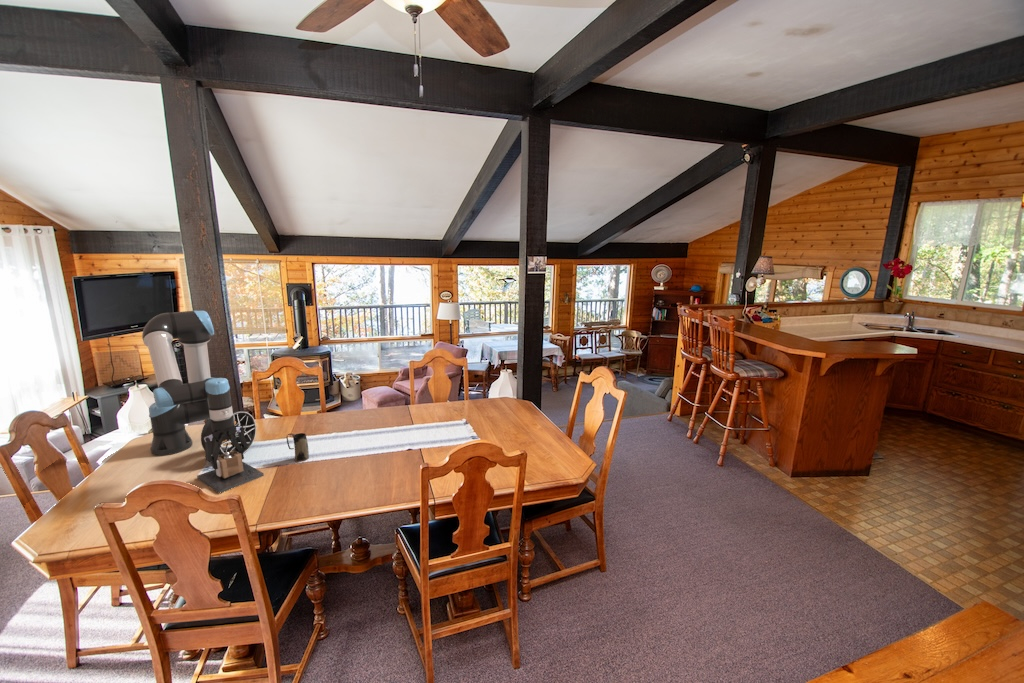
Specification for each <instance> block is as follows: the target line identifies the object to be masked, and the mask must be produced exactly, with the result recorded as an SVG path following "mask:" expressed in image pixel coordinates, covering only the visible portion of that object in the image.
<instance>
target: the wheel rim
mask: <svg viewBox="0 0 1024 683" xmlns="http://www.w3.org/2000/svg"><path fill="white" fill-rule="evenodd" d="M232 416H233V417H234V422H235V423H234V424H235V427H239V426H242V427H244V436H245V439H246V443H247V446H248V449H246V450H244V453H243V455H244V454H245V453H246V452H248V450H250V448H251V447H252V445H253V443H254V442H255V438H256V435H257V424H256V423H257V422H256V421H255V418H254V417H253V415H252V414H250V412H247V411H234V412H233V415H232ZM211 420H212V419H210V418H209V419H206V420H205V423H204V424H203V427H202V430H201V433H200V443H201V446H202V448H203V450H204V451H205V441H204V439H203V438H204V437H205V436H206V437H207V436H209V435H211V433H212V427H211ZM234 437H235V438H236V440H237V442H238V443H239V445H240V446H241V442H240V439H239V435H238V432H237V431H235V433H234ZM229 444H230V445H231V446H230V447H229ZM214 445H215V438H214V437H213V438H212V441H211V448H212V453H213V449H214ZM222 445H225V449H223V448H222ZM241 447H242V446H241ZM231 451H235V452H238V451H237V449H236V448H235V446H234V445H233V443H232V442H231V440H230V439H229V440H225V441H223V442H222V444H221V447H220V451H219V455H222V454H225V453H226V452H231ZM219 455H218V456H219Z"/></svg>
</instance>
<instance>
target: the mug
mask: <svg viewBox="0 0 1024 683" xmlns="http://www.w3.org/2000/svg"><path fill="white" fill-rule="evenodd" d="M289 436H292V438H293V446H294V448H293V447H291V446H290V442H289ZM286 444H287V446H288V448H289V450H294V461H295V462H296V463H297V462H298V463H303V462H305V461H308V459H309V456H310V455H309V453H310V451H309V445H308V438H307V435H306V433H304V432H300V433H296V434H295V433H288V434H287V435H286Z"/></svg>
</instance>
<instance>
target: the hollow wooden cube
mask: <svg viewBox="0 0 1024 683" xmlns="http://www.w3.org/2000/svg"><path fill="white" fill-rule="evenodd" d="M229 454H230V455H231V456H232V457H230V458H227V459H224V456H225V454H222V455H218V459H217V460H219V462H220V468H221V475H222V476H221V477H223V478H227V477H229V476H232V475H234V474H237V473H240V472H242V471H244V470H243V463H242V462H243V460H242V456H241V454H239V453H237V452H235V451H231V452H229Z"/></svg>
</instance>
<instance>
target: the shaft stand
mask: <svg viewBox="0 0 1024 683" xmlns="http://www.w3.org/2000/svg"><path fill="white" fill-rule="evenodd" d="M230 457H232V456H231V455H230V454H229V452H226V453H225V456H224V459H227V458H230ZM242 463H243V470H244V471H242V472H240V473H237V474H234V475H232V476H229V477H227V478H223V477H219V476H217V474H216V469H212V470H210V471H206V472H205V473H201V474H199V475H196V479H197V480H198V481H200V482H201V483H203V484H204V485H206V486H207V487H208V488H210V489H212V490H213V491H215V492H216V491H217V492H216V493H218V492H219V493H220V492H223V493H224V491H225V492H227V491H226V490H228V491H230V490H232V489H231V488H233V489H235V488H238V487H240V486H242V485H245V484H247V483H249V482H252V481H255V480H257V479H260V478H262V477H264V476H265V475H264V472H262V471H261V470H259V469H257V468H255V467H253V466H251V465H250V464H248V463H246V462H244V461H242ZM239 485H240V486H239ZM234 487H235V488H234ZM229 489H230V490H229ZM219 493H218V494H219ZM220 494H221V493H220Z"/></svg>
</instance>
